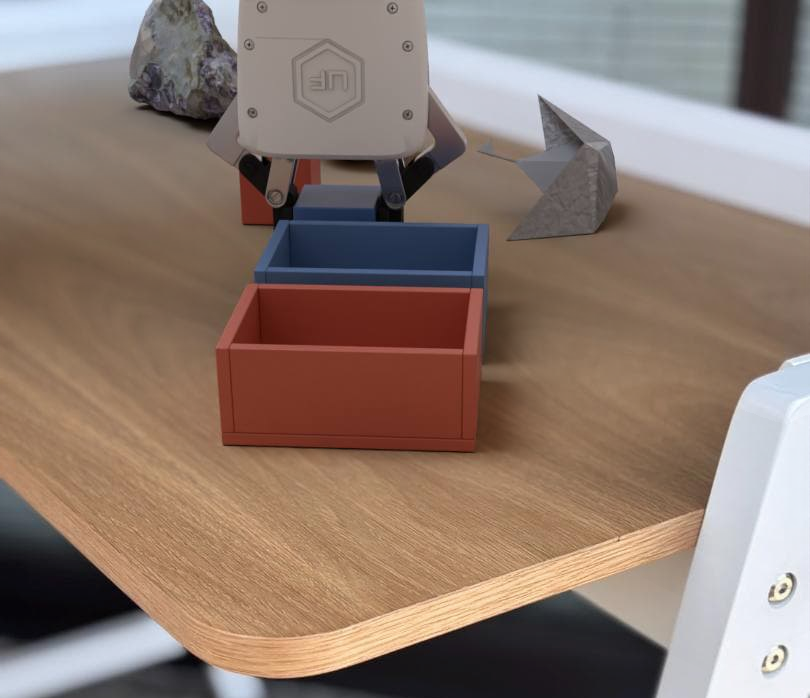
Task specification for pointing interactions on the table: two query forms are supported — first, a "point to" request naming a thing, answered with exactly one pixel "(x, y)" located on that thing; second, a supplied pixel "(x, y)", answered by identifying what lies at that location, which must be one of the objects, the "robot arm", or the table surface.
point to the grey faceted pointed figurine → (566, 177)
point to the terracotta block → (254, 200)
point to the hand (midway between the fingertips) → (340, 266)
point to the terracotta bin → (352, 367)
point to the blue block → (337, 203)
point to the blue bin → (378, 255)
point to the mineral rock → (182, 61)
